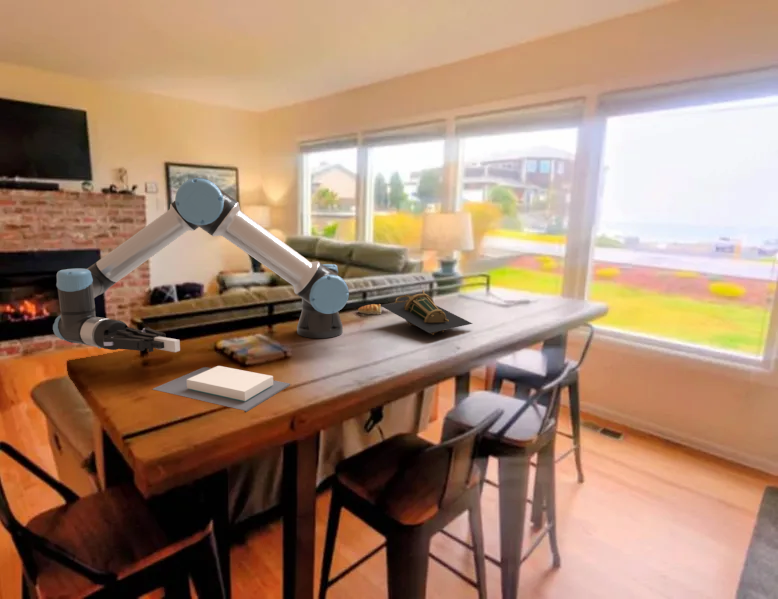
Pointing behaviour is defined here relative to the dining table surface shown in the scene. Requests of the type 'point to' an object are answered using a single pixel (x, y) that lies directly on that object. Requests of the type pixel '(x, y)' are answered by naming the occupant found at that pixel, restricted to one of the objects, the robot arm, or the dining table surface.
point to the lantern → (425, 313)
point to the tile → (230, 383)
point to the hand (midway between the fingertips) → (177, 346)
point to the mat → (181, 389)
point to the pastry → (371, 309)
